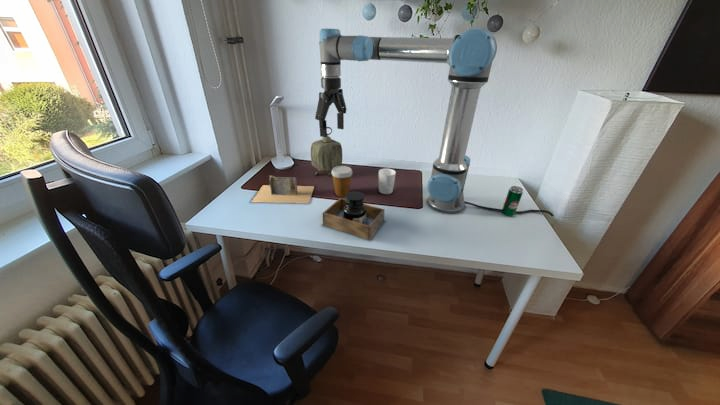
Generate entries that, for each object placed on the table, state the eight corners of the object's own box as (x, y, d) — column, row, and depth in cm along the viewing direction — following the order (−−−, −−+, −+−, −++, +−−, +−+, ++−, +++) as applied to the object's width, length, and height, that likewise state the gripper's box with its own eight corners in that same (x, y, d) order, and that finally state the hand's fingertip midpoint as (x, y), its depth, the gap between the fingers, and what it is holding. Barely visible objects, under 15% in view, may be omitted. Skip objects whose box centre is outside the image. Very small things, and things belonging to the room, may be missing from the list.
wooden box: (383, 221, 107) (384, 209, 104) (369, 240, 97) (370, 227, 94) (340, 208, 115) (340, 197, 112) (323, 225, 104) (322, 213, 101)
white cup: (396, 193, 128) (398, 174, 122) (381, 196, 125) (383, 176, 120) (389, 186, 134) (390, 167, 129) (374, 188, 131) (375, 169, 126)
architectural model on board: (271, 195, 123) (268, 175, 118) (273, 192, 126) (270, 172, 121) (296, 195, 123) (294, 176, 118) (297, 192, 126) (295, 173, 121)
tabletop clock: (334, 168, 151) (333, 123, 139) (344, 173, 145) (343, 127, 133) (312, 174, 143) (308, 127, 131) (321, 180, 137) (318, 131, 125)
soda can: (507, 217, 112) (516, 191, 106) (498, 211, 116) (507, 186, 110) (517, 216, 113) (526, 190, 107) (508, 209, 117) (517, 184, 111)
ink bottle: (358, 232, 100) (358, 204, 94) (338, 225, 104) (337, 198, 98) (370, 219, 108) (371, 193, 102) (351, 213, 111) (351, 187, 105)
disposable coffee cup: (343, 200, 121) (343, 175, 115) (327, 194, 125) (326, 170, 119) (356, 192, 127) (356, 169, 121) (341, 186, 132) (340, 163, 126)
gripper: (338, 73, 114) (339, 124, 125) (302, 79, 94) (307, 138, 105) (354, 75, 111) (354, 127, 122) (321, 80, 92) (323, 141, 102)
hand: (332, 132), depth 114 cm, fingers open, 13 cm apart
